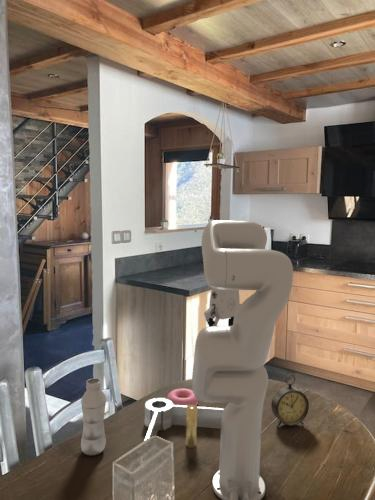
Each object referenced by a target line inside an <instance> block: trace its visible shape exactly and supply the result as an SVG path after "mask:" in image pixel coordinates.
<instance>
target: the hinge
mask: <svg viewBox="0 0 375 500" xmlns="http://www.w3.org/2000/svg"><path fill="white" fill-rule="evenodd" d="M166 398H167V397H154V398H151V399H148V400H147V401H145V403H144V426H145V427H146V428H148V430H147V431H146V435H145V437H144V439H143V442H144V441H146V440H147V439H149V438H150V437H152V436H155V435H156V436H157V435H158V432H159V430H160V431H165V430H167V429H169V428H171V427H172V426H182V427H183V426H184V427H186V416H187V406H184V405H173V402H171V401H170V400H168V399H166ZM224 409H225V407H223V408H222V407H207V406H198V405H197V428H206V429H207V428H209V429H220V430H221V418H222V414H223V411H224Z"/></svg>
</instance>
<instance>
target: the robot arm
mask: <svg viewBox="0 0 375 500" xmlns="http://www.w3.org/2000/svg"><path fill="white" fill-rule="evenodd" d="M267 242H268V236H267V233H266V230H265V229H264V228H263V226H262V225H260V224H259V223H257V222H254V221H250V220H232V219H231V220H224V219H223V220H222V219H219V220H218V219H216V220H211V221H209V222H208V223H207V224H206V225H205V227H204V228H203V232H202V236H201V254H202V262H203V274H204V279H205V282H206V285H208V287H210V288H211V291H210V297H209V307H208V308H207V310H205V311H204V313H203V314H204V317H205V321H206V322H207V325H208V326H206V327H204V328H201V330H200V331H199V332H198V333H197V336H196V340H195V346H194V356H193V364H192V374H191V375H192V377H191V386H192V387H191V388H192V390H193V393H194V395H195V397H196V398H197V399H198V400H199V401H200V402H202V403H227V405H225V407H224V411H223V414H222V418H221V429H220V437H219V440H220V441H219V446H220V447H219V467H218V469H219V470H218V471H217V472H215V474H214V475H213V478H212V484H211V485H212V489H213V492H214V493H215V495H216V496H217V497H218V498H220V499H221V500H262V499H263V497H264V496H265V493H266V483H265V481H264V479H263V478H262V477H261V475H260V466H261V465H260V462H261V444H262V442H261V441H262V429H263V428H262V424H263V412H264V405H265V399H266V395H267V390H268V385H269V375H268V372H267V369H266V368H265V367H266V366H264V365H265V363H266V361H267V359H268V356H269V353H270V352H269V351H270V348H271V345H272V340H273V334H274V332H275V326H276V323H277V322H278V319H279V318H280V315H281V314H282V313H283V310H284V309H285V308H286V305H287V302H288V301H289V298H290V295H291V291H292V288H293V281H294V279H293V278H294V268H293V263H292V261H291V259H290V258H289V257H288V255H286V254H285V253H283V252H282V251H278V250H273V249H267V248H266V246H267ZM240 291H255V292H254V293H252V294H251V295H250V296H249V297H247V298H246V299H245V300H244V301H243V302H242V303H240V302H241V301H240ZM226 319H228V321H227V322H228V323H227V324H228V325H218V323H219V321H220V320H226ZM199 401H198V402H199Z"/></svg>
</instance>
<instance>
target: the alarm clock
mask: <svg viewBox="0 0 375 500" xmlns="http://www.w3.org/2000/svg"><path fill="white" fill-rule="evenodd" d="M289 377H293V382H292V383H291V382H289V383H288V382H287V380H288V378H289ZM295 381H296V376H295V375H293V374H289V375H287V376H286V377H285V383H286V385H287V386H284V387H281V388H280V389H278V390H277V391H276V392H274V395H273V397H272V399H271V402H270V403H271V411H272V414H273V415H274V417H276V418H277V419H278V421H279V422H278V424H277V426H276V428H277V429H278V428H279V426H281V424H283V425H286V426H288V427H289V426H291V427H292V426H296V425H298V424H300V423H301V425H304V422H303V421H304V420H305V419H306V417H307V416H308V413H309V410H310V409H309V408H310V403H309V402H310V401H309V399H308V398H307V396H306V394H305V393H304V392H302V391H301V390H299V388H297V387H294V386H292V385H294V384H295Z"/></svg>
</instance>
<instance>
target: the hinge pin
mask: <svg viewBox="0 0 375 500" xmlns="http://www.w3.org/2000/svg"><path fill="white" fill-rule="evenodd" d="M197 406H198V405H197ZM197 406H195V405H189V406H187V416H186V426H185V446H186V448H190V449H192V448H195V447H196V446H197V436H198V435H197V434H198V433H197V432H198V427H197Z"/></svg>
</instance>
